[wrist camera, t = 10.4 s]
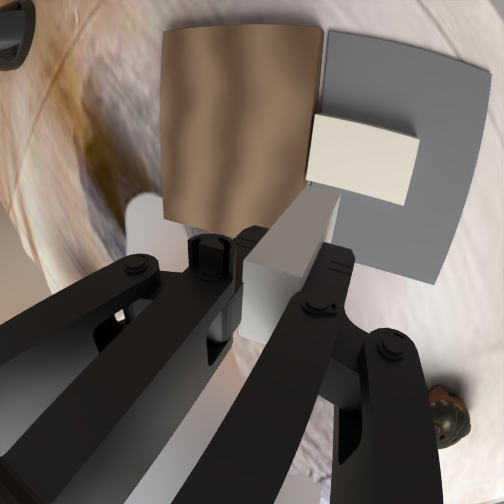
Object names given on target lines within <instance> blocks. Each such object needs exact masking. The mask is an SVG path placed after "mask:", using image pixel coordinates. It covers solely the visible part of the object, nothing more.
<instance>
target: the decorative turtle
mask: <svg viewBox="0 0 504 504" xmlns="http://www.w3.org/2000/svg"><path fill="white" fill-rule="evenodd" d="M428 397H429V402H430V407H431V412H432V417H433V423H434V428H435V434H436V441H437V447H438V449H443V448H447V447H449V446H452V445H454V444H455V443H457V442H458V441H459V440H460V439H461V438H463V437H465V436H466V435H468V434H469V432H470V430H471V424H470V415H469V412H468V410H467V408H466V406H465V404H464V402H463V400H462V399H461V397H460V396H458V395H456V396H453V397H452V396H450V395H449V394H448V393H447V391H446V390H445V388H444V387H443V386H441V385H437V386H436V387H435V388H434V389H433V390H432V391H431V393H430V394H429V395H428Z"/></svg>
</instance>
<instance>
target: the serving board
mask: <svg viewBox="0 0 504 504" xmlns="http://www.w3.org/2000/svg"><path fill="white" fill-rule="evenodd" d="M323 43H324V31H323V30H322V29H321V28H320V27H310V26H296V25H270V24H247V25H221V26H207V27H196V28H187V29H178V30H171V31H164V32H163V43H162V64H161V104H160V131H161V173H162V194H163V211H164V219H166V220H170V221H174V222H178V223H181V224H185V225H189V226H192V227H196V228H200V229H204V230H207V231H211V232H215V233H218V234H222V235H226V236H230V237H233V238H236V236H237V235H238V234H239V233H240V232H241V231H242V230H243V229H246V228H248V227H251V226H253V225H257V226H261V227H265V228H269V229H270V228H271V227H272V226H273V225H274V224H275V222H276V221H277V220H278V219H279V218H280V216H281V215H282V214H283V213H284V212H285V211H286V209H287V208H288V207H289V206H290V205H291V203H292V202H293V201H294V200H295V199H296V197H297V196H298V195H299V194H300V193H301V192H302V190H303V189H304V188H305V187H306V186H307V182H308V180H306V176H307V169H308V162H309V155H310V148H311V141H312V134H313V126H314V119H315V114H316V112H317V103H318V94H319V85H320V75H321V65H322V54H323Z"/></svg>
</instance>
